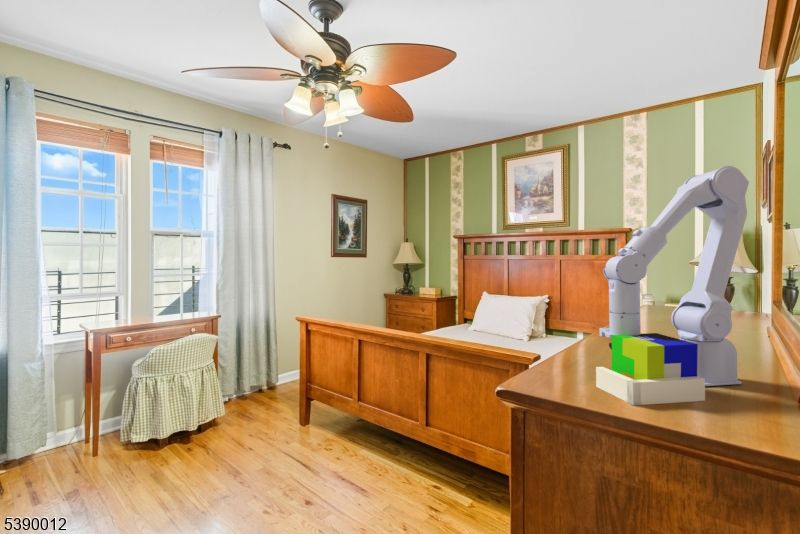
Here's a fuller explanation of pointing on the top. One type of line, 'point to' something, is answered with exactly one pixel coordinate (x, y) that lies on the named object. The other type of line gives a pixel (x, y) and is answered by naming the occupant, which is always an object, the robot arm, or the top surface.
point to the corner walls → (650, 388)
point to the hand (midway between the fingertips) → (625, 376)
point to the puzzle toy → (653, 357)
